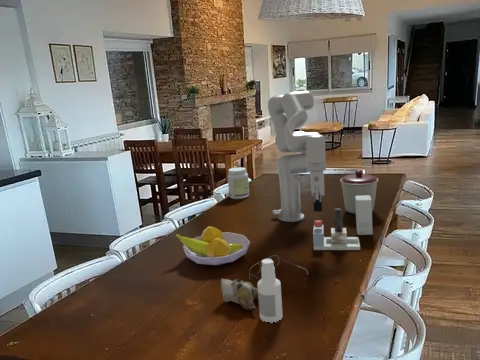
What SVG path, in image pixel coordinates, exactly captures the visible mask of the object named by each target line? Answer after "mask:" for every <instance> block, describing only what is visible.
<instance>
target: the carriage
mask: <svg viewBox="0 0 480 360" xmlns="http://www.w3.org/2000/svg"><path fill="white" fill-rule="evenodd" d="M333 210H334V212H333V213H334V215H333V216H334V227H331V228H330V237H331V243H347V237H348V232H347V227H343V209H342V208H340V207H339V208H338V207H337V208H334V209H333Z"/></svg>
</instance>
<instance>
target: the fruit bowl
mask: <svg viewBox="0 0 480 360" xmlns="http://www.w3.org/2000/svg"><path fill="white" fill-rule="evenodd" d="M175 237H176V238H178V239H179V241H180V242H181V243H182V244H183V245H182V248H183V250H184V253H185V255H186V258H188V259H190V260H191V261H193V262H195V264H199V265H206V266H207V265H209V266H220V265H223V264H227V263H233V262H234V261H236V260H238V259H239V258H241V257H242V256H245V254H247V252H248V249H249V247H250V243H251V241H250V240H249V239H248V238H247V236H245V235H243V234H241V233H234V232H227V231H226V232H225V231H224V232H222V230H221V229H218V228H217V227H214V226H210V225H208V226H207V227H206V228H205V229H204V230H203V231H202V234H201V235H200V236H196V237H193V238H190V237H186V236H182V235H180V234H179V233H177V234H175Z"/></svg>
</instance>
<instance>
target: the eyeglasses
mask: <svg viewBox="0 0 480 360" xmlns="http://www.w3.org/2000/svg"><path fill="white" fill-rule="evenodd" d="M273 256H274V257H277V258H278V263H277V264H276V266H278V265H279V263H280V260H282V261H284V262H286V263H289V264H290V265H293V266H295V267H298V268H300V269H302V270H305V271H306V275H309V271H308V269H307V268H304V267H302V266H300V265H298V264H294V263H292V262H290V261H287V260H285V259H282V258H280V256H278V255H276V254H275V255H271V256H268V257H266V258H265V259H271V258H272V257H273ZM260 262H261V263H262V260H260V261H258V262H256V263H255V264H253V265H252V266H250V269H249V273H248V274H249V275H248V277H249V279H251V276H253V277H254V278H257V279H259V280H261V279H262V277H261V278H260V277H258V275H257V276H256V275H255V274H253V273H251V269H252V267H254V266H256V265H259V266H260V267H259V269H261V268H262V264H261V263H260ZM258 273H261V270H258Z"/></svg>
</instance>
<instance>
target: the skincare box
mask: <svg viewBox="0 0 480 360" xmlns="http://www.w3.org/2000/svg"><path fill="white" fill-rule="evenodd" d="M355 204H356V214H355V222H356V223H355V224H356V226H355V227H356V233H357V235H358V236H368V235H369V236H373V234H374V233H373V210H372V200H371V197H370V195H364V196H355Z"/></svg>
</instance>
